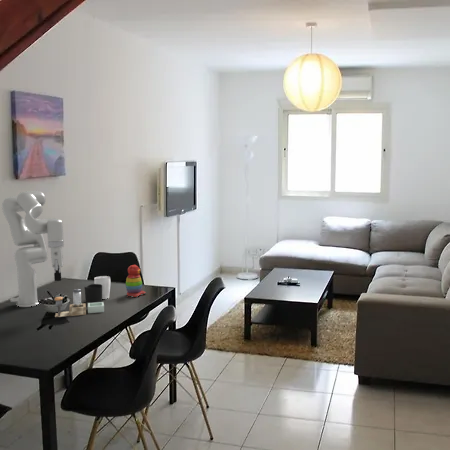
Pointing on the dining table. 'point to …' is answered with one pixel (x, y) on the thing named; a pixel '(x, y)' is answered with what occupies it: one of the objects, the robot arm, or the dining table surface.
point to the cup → (103, 285)
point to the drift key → (58, 301)
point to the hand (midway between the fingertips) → (58, 280)
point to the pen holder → (93, 293)
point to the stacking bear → (134, 281)
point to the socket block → (72, 311)
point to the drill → (77, 298)
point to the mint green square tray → (95, 307)
